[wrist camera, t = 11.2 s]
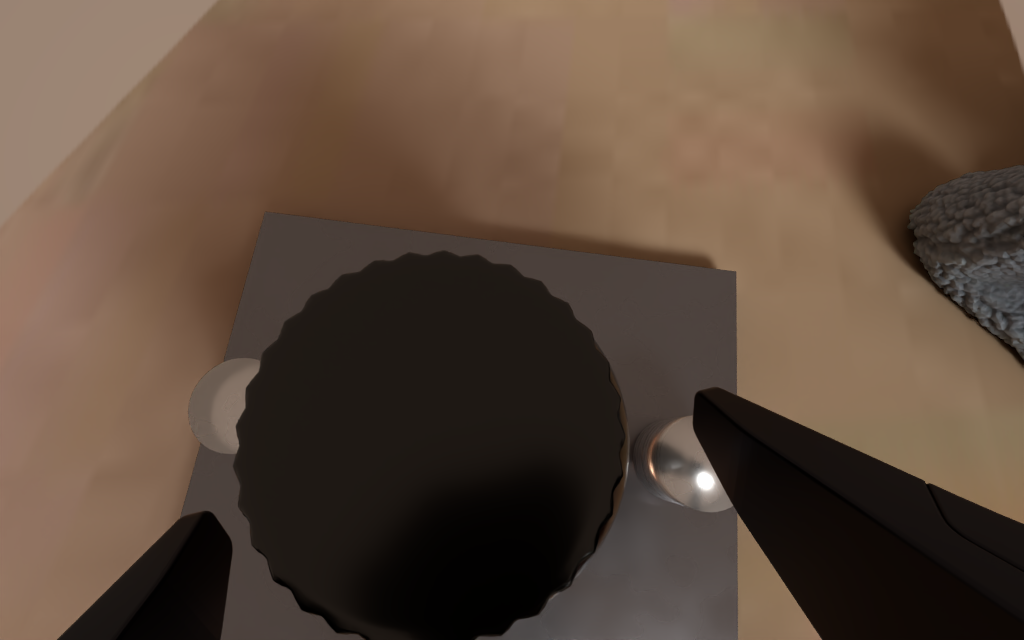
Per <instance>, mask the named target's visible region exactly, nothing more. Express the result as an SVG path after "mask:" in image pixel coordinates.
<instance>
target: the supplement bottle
mask: <svg viewBox="0 0 1024 640" xmlns="http://www.w3.org/2000/svg"><path fill="white" fill-rule="evenodd" d="M236 433H237V437H238V441H239V448H238V450H237V453H236V456H235V460H234V463H233V469H234V471H235V474H236V477H237V479H238V481H239V483H240V491H239V499H238V508H239V509H240V511H241V512H242V514H243V515H244V516H245V517H246V518H247V520H248V521H249V523H250V538H251V545H252V546H253V547H254V548H255V549H256V550H257V551H258V552H259V553H260V554H262V555H263V556H264V557H265V558H266V559H267V563H268V567H269V571H270V574H271V577H272V580H273V581H274V582H276V583H277V584H279V585H281V586H283V587H286V588H287V589H289V590H291V592H292V594H293V596H294V598H295V600H296V602H297V604H298V605H299V607H300V609H301V610H302V611H304V612H307V613H310V614H313V615H318V616H322V617H323V618H324V620H325V621H326V622H327V624H328V625H329V626H330V627H331V628H332V629H333V630H334V631H335V632H336V633H337V634H345V635H348V634H357V635H359V636H360V637H362V638H363V639H364V640H475V639H477V638H478V637H479V636H482V637H495V636H502V635H503V634H504V633H506V632H507V631H508V630H509V629H510V628H511V626H512V625H513V624H514V623H515V622H516V621H517V620H520V619H526V618H531V617H534V616H537V615H539V614H540V613H541V612H542V610H543V609H544V608H545V606H546V604H547V602H548V601H550V600H551V599H553V598H554V597H555V596H557V595H558V594H559V593H560V592H562V591H564V590H565V589H567V588H569V587H571V585H572V583H573V581H574V580H575V579H576V578H577V577H578V576H579V575H580V574H581V573H582V571H583V570H584V569H585V568H586V567H587V565H588V564H589V563H590V562H591V560H592V559H593V558H594V556H595V555H596V553H597V552H598V550H599V549H600V547H601V546H602V544H603V543H604V541H605V539H606V537H607V535H608V533H609V531H610V530H611V528H612V525H613V523H614V521H615V518H616V516H617V513H618V511H619V508H620V505H621V501H622V498H623V495H624V491H625V486H626V481H627V476H628V467H629V457H630V438H629V426H628V419H627V413H626V408H625V403H624V400H623V396H622V393H621V389H620V387H619V384H618V381H617V379H616V376H615V374H614V372H613V370H612V368H611V366H610V363H609V361H608V360H607V358H606V356H605V355H604V353H603V351H602V350H601V348H600V347H599V345H598V344H597V342H596V341H595V340H594V337H593V333H592V330H590V329H589V328H588V327H586V326H585V325H584V324H582V323H581V322H579V321H578V320H577V319H576V318H575V316H574V314H573V310H572V308H571V307H570V305H569V303H567V302H565V301H563V300H561V299H559V298H557V297H555V296H552V295H551V294H550V292H549V291H548V289H547V287H546V286H545V285H544V283H543V282H542V281H540V280H536V279H533V278H528V277H524V276H523V275H522V274H521V273H520V272H519V271H518V270H517V269H516V268H515V267H513V266H512V265H510V264H494V263H491V262H490V261H488V260H487V259H486V258H484V257H482V256H481V255H479V254H474V255H465V256H458V255H456V254H454V253H451V252H448V251H445V250H442V251H438V252H434V253H432V254H429V255H421V254H418V253H412V252H408V253H406V254H404V255H402V256H400V257H398V258H396V259H394V260H391V261H387V260H374V261H373V262H371V263H370V264H368V265H367V266H366V267H364V268H363V269H362V270H361V271H359V272H353V273H346V274H342V275H341V276H340V277H338V278H337V279H336V280H335V281H334V283H333V284H332V285H331V286H330V287H329V288H328V289H325V290H322V291H319V292H317V293H315V294H313V295H311V296H310V297H309V299H308V300H307V302H306V303H305V306H304V308H303V309H302V311H301V312H299V313H297V314H295V315H294V316H292V317H290V318H289V319H288V320H286V321H285V322H284V324H283V326H282V328H281V330H280V335H279V337H278V339H277V340H276V341H275V342H274V343H272V344H271V345H270V346H269V347H268V348H267V349H266V350H265V351H264V352H263V353H262V356H261V360H260V368H259V372H258V373H257V374H256V375H255V376H254V378H253V379H252V380H251V381H250V383H249V384H248V385H247V387H246V391H245V409H244V411H243V413H242V414H241V416H240V418H239V420H238V422H237V424H236Z"/></svg>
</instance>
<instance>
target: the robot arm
mask: <svg viewBox="0 0 1024 640" xmlns="http://www.w3.org/2000/svg"><path fill="white" fill-rule="evenodd" d="M692 424H693V429H694V432H695V435H696V437H697V439H698V441H699V443H700V445H701V446H702V448H703V450H704V452H705V454H706V456H707V458H708V460H709V462H710V464H711V466H712V467H713V469H714V471H715V473H716V475H717V477H718V479H719V481H720V483H721V485H722V487H723V488H724V490H725V492H726V494H727V496H728V498H729V499H730V501H731V503H732V505H733V506H734V508H735V509H736V511H737V513H738V514H739V516H740V517H741V519H742V520H743V522H744V523H745V525H746V526H747V528H748V529H749V531H750V532H751V534H752V535H753V537H754V538H755V540H756V541H757V543H758V544H759V546H760V547H761V549H762V550H763V552H764V553H765V555H766V556H767V558H768V559H769V561H770V562H771V564H772V565H773V567H774V568H775V570H776V571H777V573H778V574H779V576H780V577H781V579H782V580H783V582H784V583H785V585H786V586H787V588H788V589H789V591H790V592H791V594H792V595H793V597H794V598H795V600H796V601H797V603H798V604H799V606H800V607H801V609H802V610H803V612H804V613H805V615H806V616H807V618H808V619H809V621H810V622H811V624H812V625H813V627H814V628H815V630H816V631H817V633H818V634H819V636H820V637H821V639H822V640H1024V524H1023V523H1020V522H1018V521H1015V520H1013V519H1010V518H1008V517H1005V516H1003V515H1001V514H998V513H996V512H994V511H991V510H989V509H987V508H985V507H982V506H980V505H978V504H975V503H973V502H971V501H969V500H966V499H964V498H962V497H959V496H957V495H955V494H953V493H951V492H948V491H946V490H944V489H942V488H940V487H937V486H935V485H933V484H931V483H928V484H926V483H925V481H924V480H922V479H919V478H917V477H915V476H913V475H911V474H908V473H906V472H904V471H902V470H900V469H897V468H895V467H893V466H891V465H889V464H887V463H884V462H882V461H880V460H878V459H876V458H873V457H871V456H869V455H867V454H865V453H862V452H860V451H858V450H856V449H854V448H851V447H849V446H847V445H845V444H843V443H840V442H838V441H836V440H834V439H832V438H829V437H827V436H825V435H823V434H821V433H818V432H816V431H814V430H812V429H810V428H807V427H805V426H803V425H801V424H799V423H796V422H794V421H792V420H790V419H788V418H786V417H783V416H781V415H779V414H777V413H775V412H772V411H770V410H768V409H766V408H764V407H761V406H759V405H757V404H755V403H753V402H750V401H748V400H746V399H744V398H742V397H739V396H737V395H735V394H733V393H731V392H728V391H726V390H724V389H722V388H719V387H711V388H707V389H703V390H699V391H697V392H696V394H695V397H694V408H693V421H692ZM232 554H233V545H232V541H231V538H230V536H229V535H228V533H227V532H226V531H225V529H224V528H223V526H222V525H221V523H220V522H219V520H218V519H217V518H216V516H215V515H214V514H213V512H211V511H208V510H207V511H206V510H204V511H200V512H196V513H192V514H188V515H185V516H183V517H181V518H180V519H179V520H178V521H177V522H176V523H175V524H174V525H173V526H172V527H171V528H170V529H169V530H168V531H167V532H166V533H165V534H164V535H163V536H162V537H161V538H159V539H158V540H157V541H156V542H155V543H154V544H153V545H152V546H151V547H150V548H149V549H148V550H147V551H146V552H145V553H144V554H143V555H142V556H141V557H140V558H139V559H138V560H137V561H136V562H135V563H134V564H133V565H132V566H131V567H130V568H129V569H128V570H127V571H126V572H125V573H124V574H123V575H122V576H121V577H120V578H119V579H118V580H117V581H116V582H115V583H114V584H113V585H112V586H111V587H110V588H109V589H108V590H107V591H106V592H105V593H104V594H103V595H102V596H101V597H100V598H99V599H98V600H97V601H96V602H95V603H94V604H93V605H92V606H91V607H90V608H89V609H88V610H87V611H86V612H85V613H84V614H83V615H82V616H81V617H80V618H79V619H78V620H77V621H76V622H75V623H74V624H72V625H71V626H70V627H69V628H68V629H67V630H66V631H65V632H64V633H63V634H62V635H61V636H60V637H59V638H58V639H57V640H221V634H222V628H223V621H224V613H225V606H226V599H227V591H228V584H229V576H230V569H231V562H232Z"/></svg>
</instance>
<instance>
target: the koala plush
mask: <svg viewBox="0 0 1024 640" xmlns="http://www.w3.org/2000/svg"><path fill="white" fill-rule="evenodd" d="M910 213H912V214H911V215H909V218H910V219H909V220H911V222H910V224H909V225H908V226H907V228H908V229H914V235H915V236H916V237H917V240H916V241H915V242H913V246H914V248H915V250H914V254H916V255H918V256H919V257H920V261H921V262H922V263H923V264H924V267H925V269H926V270H928V273H929V275H930V276H931V279H932V280H933V281H934V282H935V283H936V284H937V285H938V286H939V287H940V288H944V293H945V294H950V297H951V299H952V300H954V301H956V302H957V303H958V305H960V306H961V307H964V309H965V311H966V312H968V313H969V314H971V315H972V316H975V317H977V318H978V319H979V323H980V324H981V325H982V326H986V327H987V329H988V330H989V331H990V332H991V333H993V334H995V335H997V336H998V337H999V338H1000V339H1004V342H1005V343H1008V344H1010V345H1011V346H1012V347H1015V348H1016V350H1017V352H1018V353H1019V354H1020V355H1021V357H1022V358H1023V359H1024V165H1018V166H1013V167H1009V168H1004V169H1001V170H992V171H986V172H984V171H977V172H974V173H966V174H964V175H962V176H961V177H960V178H957V179H954V180H951V181H949V182H948V183H946V184H941V185H939V186H937V187H936V188H935V189H934V190H933V191H930V192H929V193H928V194H927V195H926V196H925V197H923V198H922V201H921V203H920V204H919V205H917V206H916V208H915V209H913V210H911V211H910Z"/></svg>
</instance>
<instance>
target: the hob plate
mask: <svg viewBox="0 0 1024 640" xmlns="http://www.w3.org/2000/svg"><path fill="white" fill-rule="evenodd" d="M442 250H445V251H448V252H451V253H454V254H456V255H458V256H465V255H474V254H479V255H481V256H482V257H484V258H486V259H487V260H488V261H490V262H491V263H494V264H510V265H512V266H513V267H515V268H516V269H517V270H518V271H519V272H520V273H521V274H522V275H523V276H524V277H528V278H533V279H536V280H540V281H542V282H543V283H544V285H545V286H546V287H547V289H548V291H549V292H550V294H551V295H552V296H555V297H557V298H559V299H561V300H563V301H565V302H567V303H569V305H570V307H571V308H572V310H573V314H574V316H575V318H576V319H577V320H578V321H579V322H581V323H582V324H584V325H585V326H586V327H588V328H589V329H590V330H592V333H593V337H594V340H595V341H596V342H597V344H598V345H599V347H600V348H601V350H602V351H603V353H604V355H605V356H606V358H607V360H608V361H609V363H610V366H611V368H612V370H613V372H614V374H615V376H616V379H617V381H618V384H619V387H620V389H621V393H622V396H623V400H624V403H625V408H626V413H627V419H628V426H629V438H630V457H629V467H628V476H627V481H626V486H625V491H624V495H623V498H622V501H621V505H620V508H619V511H618V513H617V516H616V518H615V521H614V523H613V525H612V528H611V530H610V531H609V533H608V535H607V537H606V539H605V541H604V543H603V544H602V546H601V547H600V549H599V550H598V552H597V553H596V555H595V556H594V558H593V559H592V560H591V562H590V563H589V564H588V565H587V567H586V568H585V569H584V570H583V571H582V573H581V574H580V575H579V576H578V577H577V578H576V579H575V580H574V581H573V583H572V585H571V587H569V588H567V589H565V590H564V591H562V592H560V593H559V594H558V595H557V596H555V597H554V598H553V599H551V600H550V601H548V602H547V604H546V606H545V608H544V609H543V610H542V612H541V613H540V614H539V615H537V616H534V617H531V618H526V619H520V620H517V621H516V622H515V623H514V624H513V625H512V626H511V628H510V629H509V630H508V631H507V632H506V633H504V634H503V635H502V636H495V637H482V636H479V637H478V638H477V639H475V640H738V583H737V511H736V509H735V508H734V506H733V505H732V503H731V501H730V499H729V498H728V496H727V494H726V492H725V490H724V488H723V487H722V485H721V483H720V481H719V479H718V477H717V475H716V473H715V471H714V469H713V467H712V466H711V464H710V462H709V460H708V458H707V456H706V454H705V452H704V450H703V448H702V446H701V445H700V443H699V441H698V439H697V437H696V435H695V432H694V429H693V424H692V421H693V408H694V397H695V394H696V392H697V391H699V390H703V389H707V388H711V387H719V388H722V389H724V390H726V391H728V392H731V393H733V394H735V395H737V340H736V272H735V271H727V270H720V269H712V268H704V267H696V266H688V265H680V264H672V263H664V262H657V261H649V260H641V259H633V258H625V257H617V256H609V255H602V254H594V253H586V252H578V251H570V250H562V249H554V248H547V247H539V246H531V245H523V244H515V243H507V242H499V241H492V240H484V239H476V238H468V237H460V236H452V235H444V234H436V233H429V232H421V231H413V230H405V229H397V228H389V227H381V226H374V225H366V224H358V223H350V222H342V221H334V220H326V219H319V218H311V217H303V216H295V215H287V214H279V213H271V212H265V214H264V218H263V221H262V225H261V229H260V232H259V236H258V239H257V243H256V247H255V250H254V254H253V257H252V261H251V264H250V268H249V272H248V275H247V279H246V282H245V286H244V290H243V293H242V297H241V300H240V304H239V308H238V311H237V315H236V318H235V322H234V326H233V329H232V333H231V336H230V340H229V344H228V347H227V351H226V354H225V358H224V362H223V363H221V364H219V365H217V366H215V367H214V368H212V369H211V370H210V371H208V372H207V373H206V374H205V375H204V376H203V377H202V378H201V380H200V381H199V382H198V384H197V385H196V387H195V389H194V391H193V393H192V395H191V398H190V402H189V409H188V416H189V423H190V426H191V429H192V431H193V433H194V435H195V436H196V438H197V439H198V440H199V441H200V442H201V444H200V448H199V452H198V455H197V459H196V462H195V466H194V470H193V473H192V477H191V480H190V484H189V488H188V491H187V495H186V498H185V502H184V506H183V509H182V513H181V516H180V518H181V517H183V516H185V515H188V514H192V513H196V512H200V511H204V510H206V511H207V510H208V511H211V512H213V514H214V515H215V516H216V518H217V519H218V520H219V522H220V523H221V525H222V526H223V528H224V529H225V531H226V532H227V533H228V535H229V536H230V538H231V541H232V545H233V554H232V562H231V569H230V576H229V584H228V591H227V599H226V606H225V613H224V621H223V628H222V634H221V640H364V639H363V638H362V637H360V636H359V635H357V634H348V635H345V634H337V633H336V632H335V631H334V630H333V629H332V628H331V627H330V626H329V625H328V624H327V622H326V621H325V620H324V618H323V617H322V616H318V615H313V614H310V613H307V612H304V611H302V610H301V609H300V607H299V605H298V604H297V602H296V600H295V598H294V596H293V594H292V592H291V590H289V589H287V588H286V587H283V586H281V585H279V584H277V583H276V582H274V581H273V580H272V577H271V574H270V571H269V567H268V563H267V559H266V558H265V557H264V556H263V555H262V554H260V553H259V552H258V551H257V550H256V549H255V548H254V547H253V546H252V545H251V538H250V523H249V521H248V520H247V518H246V517H245V516H244V515H243V514H242V512H241V511H240V509H239V508H238V499H239V491H240V483H239V481H238V479H237V477H236V474H235V471H234V469H233V463H234V460H235V456H236V453H237V450H238V448H239V441H238V437H237V433H236V424H237V422H238V420H239V418H240V416H241V414H242V413H243V411H244V409H245V391H246V387H247V385H248V384H249V383H250V381H251V380H252V379H253V378H254V376H255V375H256V374H257V373H258V372H259V368H260V360H261V356H262V353H263V352H264V351H265V350H266V349H267V348H268V347H269V346H270V345H271V344H272V343H274V342H275V341H276V340H277V339H278V337H279V335H280V330H281V328H282V326H283V324H284V322H285V321H286V320H288V319H289V318H290V317H292V316H294V315H295V314H297V313H299V312H301V311H302V309H303V308H304V306H305V303H306V302H307V300H308V299H309V297H310V296H311V295H313V294H315V293H317V292H319V291H322V290H325V289H328V288H329V287H330V286H331V285H332V284H333V283H334V281H335V280H336V279H337V278H338V277H340V276H341V275H342V274H346V273H353V272H359V271H361V270H362V269H363V268H364V267H366V266H367V265H368V264H370V263H371V262H373V261H374V260H387V261H391V260H394V259H396V258H398V257H400V256H402V255H404V254H406V253H408V252H412V253H418V254H421V255H429V254H432V253H434V252H438V251H442Z"/></svg>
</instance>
